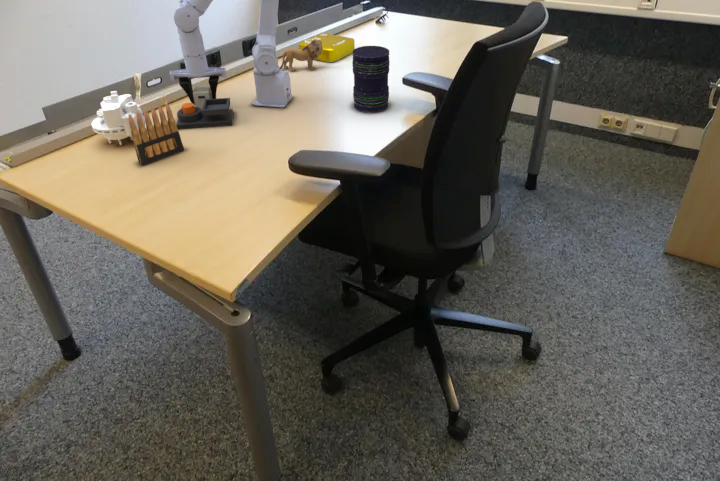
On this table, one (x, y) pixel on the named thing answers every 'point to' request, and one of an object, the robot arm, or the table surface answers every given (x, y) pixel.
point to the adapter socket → (216, 106)
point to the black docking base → (202, 119)
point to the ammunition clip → (155, 136)
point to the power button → (188, 108)
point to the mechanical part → (116, 117)
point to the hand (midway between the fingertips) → (204, 103)
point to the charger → (201, 95)
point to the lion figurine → (303, 54)
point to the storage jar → (370, 78)
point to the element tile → (331, 46)
